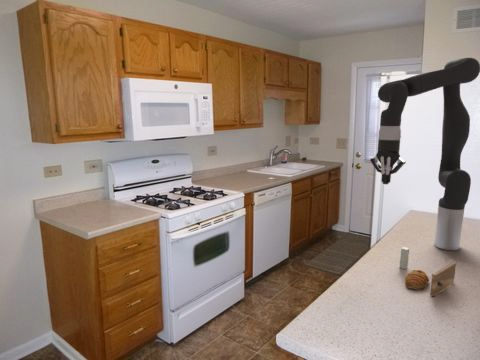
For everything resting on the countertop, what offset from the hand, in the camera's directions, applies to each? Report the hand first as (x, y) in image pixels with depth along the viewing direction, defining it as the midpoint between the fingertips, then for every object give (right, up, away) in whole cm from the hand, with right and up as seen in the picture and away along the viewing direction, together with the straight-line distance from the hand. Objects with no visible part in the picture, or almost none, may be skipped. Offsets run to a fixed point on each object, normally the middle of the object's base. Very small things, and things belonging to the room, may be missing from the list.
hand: (385, 183), depth 134 cm
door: (+10, -34, -21) cm, 41 cm away
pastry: (+3, -33, -17) cm, 37 cm away
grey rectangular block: (+10, -32, -10) cm, 35 cm away
